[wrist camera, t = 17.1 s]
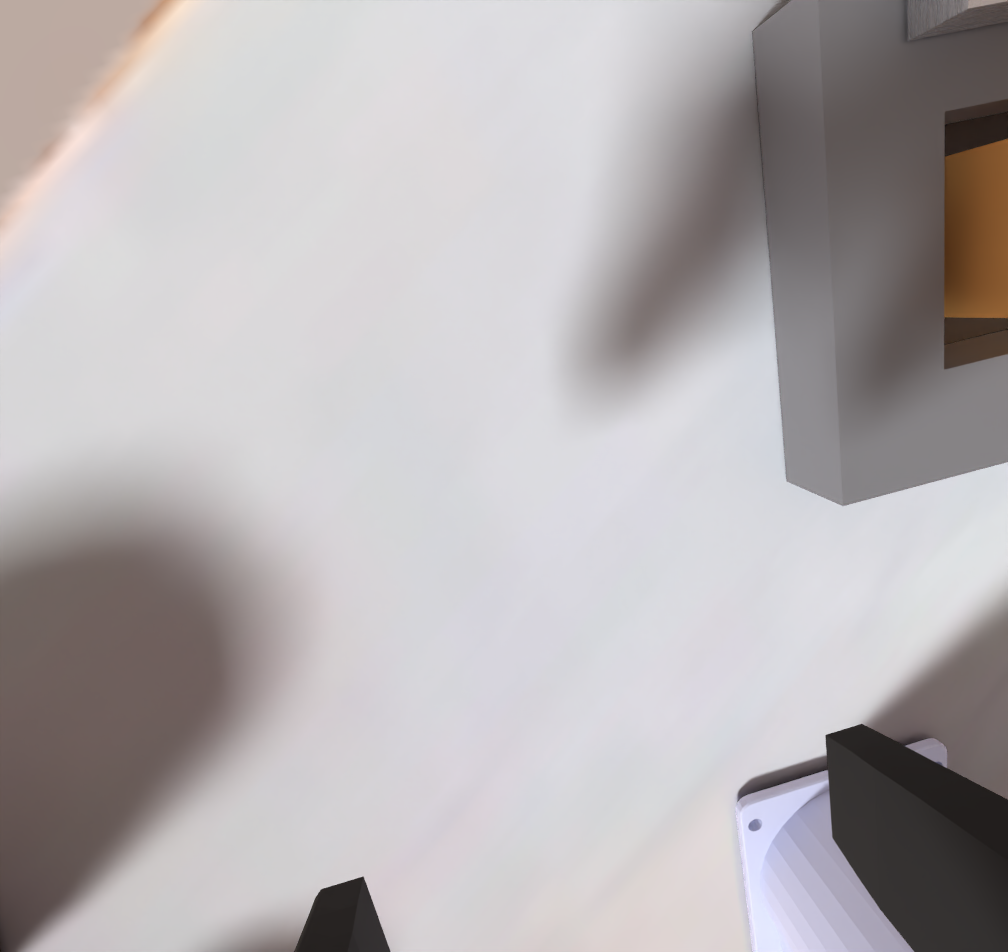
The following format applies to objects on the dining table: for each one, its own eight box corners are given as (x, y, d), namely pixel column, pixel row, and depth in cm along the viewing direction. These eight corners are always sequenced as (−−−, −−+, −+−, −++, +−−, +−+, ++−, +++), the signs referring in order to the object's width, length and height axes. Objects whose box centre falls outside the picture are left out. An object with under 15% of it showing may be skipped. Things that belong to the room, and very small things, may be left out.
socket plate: (1127, 392, 20) (1227, 403, 17) (786, 480, 19) (842, 506, 16) (1166, -44, 16) (1296, -105, 14) (752, 31, 15) (817, -21, 13)
